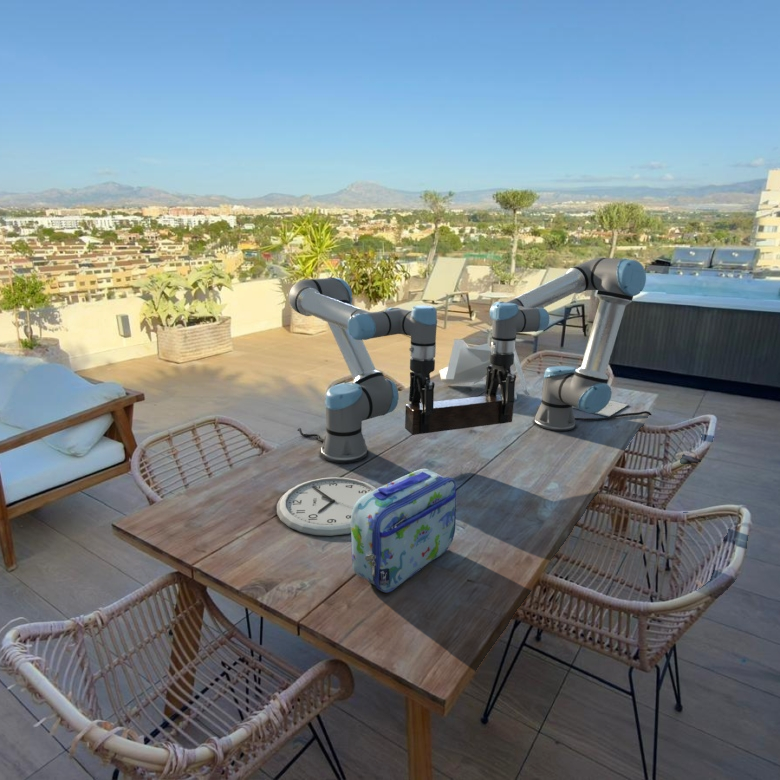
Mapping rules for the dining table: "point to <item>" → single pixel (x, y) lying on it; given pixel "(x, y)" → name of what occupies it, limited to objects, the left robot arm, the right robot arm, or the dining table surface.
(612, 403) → the invitation card
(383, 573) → the lunch box
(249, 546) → the dining table surface
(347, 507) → the wall clock
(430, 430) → the walnut beam
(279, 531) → the dining table surface
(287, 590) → the dining table surface
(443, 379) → the white plastic object
